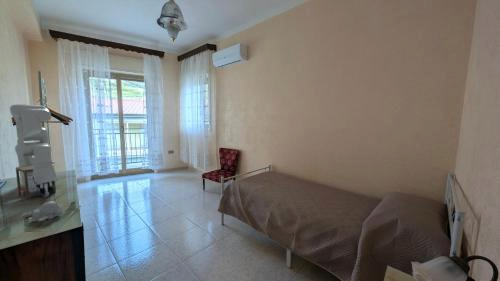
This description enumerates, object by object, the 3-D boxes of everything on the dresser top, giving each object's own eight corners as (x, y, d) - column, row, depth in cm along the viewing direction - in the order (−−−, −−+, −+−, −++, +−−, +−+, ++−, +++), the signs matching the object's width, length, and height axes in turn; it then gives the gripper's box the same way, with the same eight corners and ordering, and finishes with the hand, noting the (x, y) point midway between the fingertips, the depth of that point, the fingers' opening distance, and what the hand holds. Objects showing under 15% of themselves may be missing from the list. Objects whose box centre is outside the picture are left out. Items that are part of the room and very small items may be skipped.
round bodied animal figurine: (36, 223, 109) (26, 210, 107) (64, 209, 116) (55, 196, 113) (33, 229, 104) (22, 215, 101) (63, 214, 110) (53, 200, 107)
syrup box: (36, 196, 138) (33, 174, 136) (29, 195, 139) (26, 173, 138) (46, 192, 144) (44, 171, 142) (39, 192, 145) (37, 171, 143)
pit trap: (16, 191, 145) (16, 189, 145) (36, 187, 154) (36, 185, 154) (22, 194, 140) (22, 192, 140) (42, 189, 149) (42, 187, 149)
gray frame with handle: (23, 194, 139) (21, 179, 138) (44, 189, 148) (43, 175, 147) (36, 200, 130) (34, 184, 129) (57, 195, 139) (56, 179, 138)
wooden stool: (18, 195, 138) (15, 167, 136) (46, 189, 151) (44, 163, 149) (27, 199, 132) (24, 170, 130) (56, 192, 144) (53, 165, 142)
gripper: (56, 161, 142) (59, 188, 144) (22, 166, 128) (26, 196, 130) (62, 162, 138) (64, 190, 141) (28, 168, 124) (31, 198, 126)
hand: (46, 192), depth 135 cm, fingers closed on gray frame with handle, 2 cm apart
